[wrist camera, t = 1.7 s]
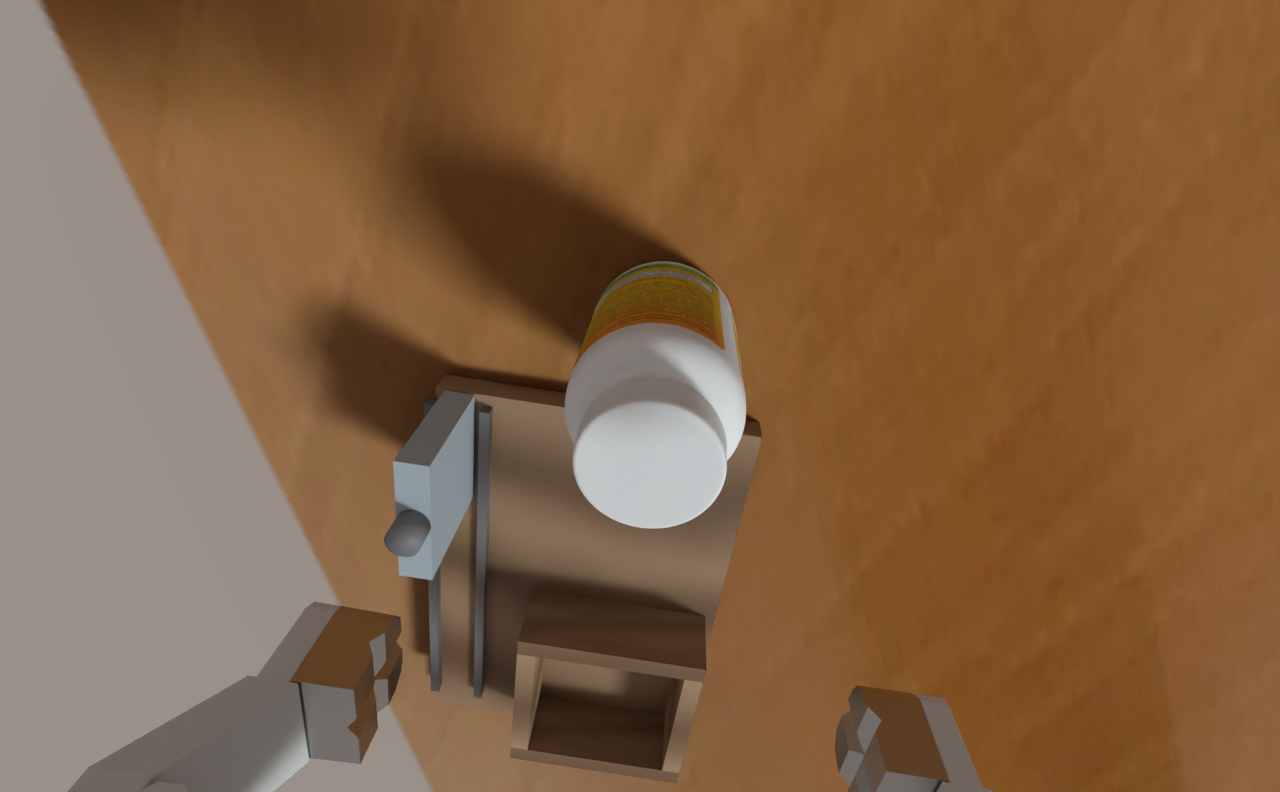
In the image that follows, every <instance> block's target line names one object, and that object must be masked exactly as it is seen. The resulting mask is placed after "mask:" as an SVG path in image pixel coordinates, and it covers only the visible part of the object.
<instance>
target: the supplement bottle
mask: <svg viewBox="0 0 1280 792" xmlns="http://www.w3.org/2000/svg"><path fill="white" fill-rule="evenodd" d="M565 419H566V425H567V429H568V432H569V435H570V437H571V439H572V442H573V444H574V450H573V458H572V463H573V471H574V476H575V479H576V482H577V484H578V486H579V488H580V490H581V491H582V493H583V495H584V496H585V497H586V499H587V500H588V501H589V502H590V503H591V504H592V505H593V506H594V507H595V508H596V509H597V510H599V511H600V512H601V513H603V514H604V515H606V516H608V517H609V518H611V519H613V520H615V521H617V522H620V523H623V524H626V525H629V526H633V527H639V528H667V527H672V526H676V525H679V524H682V523H685V522H687V521H690V520H692V519H694V518H695V517H697V516H698V515H700V514H701V513H703V512H704V511H705V510H706V509H707V508H708V507H710V506H711V504H712V503H713V502H714V501H715V499H716V498H717V497H718V495H719V493H720V492H721V490H722V487H723V485H724V481H725V478H726V472H727V460H728V459H729V458H730V457H731V456H732V454H733V453H734V451H735V450H736V448H737V446H738V444H739V442H740V440H741V437H742V434H743V430H744V426H745V421H746V395H745V388H744V382H743V375H742V369H741V362H740V355H739V348H738V340H737V332H736V327H735V321H734V317H733V313H732V310H731V307H730V304H729V302H728V300H727V298H726V296H725V295H724V293H723V292H722V290H721V289H720V288H719V286H718V285H717V284H716V283H715V282H714V281H713V280H712V279H710V278H709V277H708V276H706V275H705V274H704V273H702V272H700V271H698V270H697V269H695V268H693V267H690V266H687V265H684V264H681V263H676V262H669V261H656V262H650V263H645V264H642V265H639V266H636V267H633V268H631V269H629V270H627V271H626V272H624V273H622V274H621V275H620V276H618V277H617V278H616V279H615V280H614V281H613V282H612V283H611V284H610V285H609V286H608V287H607V289H606V290H605V291H604V293H603V294H602V296H601V297H600V299H599V301H598V304H597V306H596V308H595V311H594V313H593V316H592V319H591V322H590V325H589V328H588V330H587V333H586V336H585V338H584V341H583V344H582V347H581V349H580V352H579V355H578V358H577V360H576V363H575V365H574V368H573V370H572V373H571V376H570V379H569V382H568V386H567V391H566V396H565Z"/></svg>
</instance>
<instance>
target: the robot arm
mask: <svg viewBox="0 0 1280 792" xmlns="http://www.w3.org/2000/svg"><path fill="white" fill-rule="evenodd" d="M400 633H401V621H400V617H398V616H394V615H389V614H383V613H378V612H372V611H367V610H361V609H355V608H350V607H344V606H337V605H331V604H325V603H319V602H313V603H312V604H311V605H309V606H308V607H307V608H305V610H304V611H303V613H302V614H301V616H300V617H299V618H298V620H297V621H296V622H295V624H294V625H293V627H292V628H291V629H290V631H289V632H288V634H287V635H286V636H285V638H284V639H283V641H282V642H281V643H280V645H279V646H278V648H277V649H276V651H275V652H274V653H273V655H272V656H271V657H270V659H269V660H268V662H267V663H266V664H265V666H264V667H263V669H262V670H261V672H260V673H259V674H258V676H257V677H254V676H247V677H245V678H243V679H241V680H240V681H238V682H236V683H235V684H233V685H231V686H229V687H228V688H226V689H224V690H222V691H221V692H219V693H217V694H215V695H214V696H212V697H210V698H208V699H207V700H205V701H203V702H201V703H200V704H198V705H196V706H195V707H193V708H191V709H189V710H188V711H186V712H184V713H182V714H181V715H179V716H177V717H175V718H174V719H172V720H170V721H168V722H167V723H165V724H163V725H162V726H160V727H158V728H156V729H155V730H153V731H151V732H149V733H147V734H146V735H144V736H142V737H141V738H139V739H137V740H135V741H134V742H132V743H130V744H128V745H127V746H125V747H123V748H122V749H120V750H118V751H116V752H114V753H113V754H111V755H109V756H108V757H106V758H104V759H102V760H100V761H99V762H97V763H95V764H94V765H92V766H90V767H89V768H88V769H87V770H86V771H85V772H84V773H83V775H82V776H81V777H80V778H79V779H78V780H77V782H76V783H75V784H74V785H73V786H72V787H71V788H70V790H69V791H68V792H273V791H274V790H275V789H277V788H278V787H279V786H280V785H281V784H282V783H284V782H285V781H286V780H287V779H288V778H290V777H291V776H292V775H293V774H294V773H296V772H297V771H298V770H299V769H300V768H302V766H304V765H305V764H306V763H307V762H309V758H316V759H324V760H332V761H341V762H349V763H357V764H361V762H362V760H363V757H364V755H365V753H366V751H367V749H368V747H369V745H370V743H371V741H372V739H373V737H374V735H375V732H376V730H377V728H378V723H377V712H379V711H380V710H381V709H383V708H384V707H386V706H387V705H389V703H390V701H391V698H392V696H393V694H394V692H395V690H396V686H397V683H398V679H399V676H400V673H401V666H402V648H401V647H400V646H399V645H398V644H397V643H396V641H397V639H398V637H399V635H400ZM849 703H850V707H851V711H849V712H848V713H846V714H844V715H843V716H841V719H840V722H839V725H838V727H837V732H836V742H835V750H836V761H837V766H838V771H839V774H840V775H841V776H842V778H843V779H844V780H845V781H846V782H847V784H848V785H849V786H850V787H849V790H848V792H994V791H993V790H992V789H986V788H983V787H982V784H981V782H980V780H979V777H978V775H977V772H976V770H975V768H974V765H973V763H972V760H971V758H970V755H969V753H968V751H967V748H966V746H965V743H964V741H963V739H962V736H961V734H960V731H959V729H958V727H957V724H956V722H955V719H954V717H953V715H952V712H951V710H950V707H949V705H948V703H947V702H946V701H945V700H944V699H943V698H939V697H932V696H925V695H919V694H911V693H908V692H900V691H893V690H886V689H879V688H872V687H865V686H857V687H855V688H854V689H853V690H852V693H851V695H850V697H849Z"/></svg>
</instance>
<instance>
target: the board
mask: <svg viewBox="0 0 1280 792" xmlns="http://www.w3.org/2000/svg"><path fill="white" fill-rule="evenodd" d="M444 390H445V391H452V392H459V393H465V394H472V395H475V415H474V477H473V498H472V500H471V502H470V504H469V506H468V508H467V510H466V512H465V515H464V517H463V519H462V521H461V523H460V525H459V527H458V529H457V531H456V533H455V535H454V537H453V539H452V541H451V543H450V545H449V547H448V549H447V551H446V553H445V555H444V557H443V559H442V561H441V563H440V565H439V567H438V569H437V571H436V574H435V576H434V578H433V580H428V592H429V630H430V668H431V691H437V692H439V690H440V701H441V702H444V703H450V704H457V705H463V706H470V707H476V708H483V709H490V710H496V711H503V712H509V713H513V723H512V738H511V754H510V758H516V759H522V760H529V761H535V762H542V763H548V764H555V765H561V766H568V767H574V768H581V769H587V770H594V771H600V772H607V773H614V774H620V775H627V776H633V777H640V778H646V779H653V780H659V781H666V782H672V783H676V781H677V777H678V774H679V770H680V766H681V763H682V759H683V755H684V751H685V748H686V744H687V740H688V736H689V733H690V729H691V725H692V722H693V718H694V714H695V710H696V707H697V703H698V699H699V695H700V692H701V688H702V684H703V681H704V677H705V673H706V649H707V645H708V642H709V638H710V634H711V630H712V626H713V622H714V619H715V615H716V611H717V607H718V603H719V600H720V596H721V592H722V588H723V584H724V581H725V577H726V573H727V569H728V565H729V562H730V558H731V554H732V550H733V546H734V543H735V539H736V535H737V531H738V527H739V523H740V520H741V516H742V512H743V508H744V504H745V501H746V497H747V493H748V489H749V485H750V482H751V478H752V474H753V470H754V466H755V463H756V459H757V455H758V451H759V447H760V444H761V440H762V434H761V429H760V423H759V422H754V421H748V420H746V421H745V426H744V430H743V434H742V437H741V440H740V442H739V444H738V446H737V448H736V450H735V451H734V453H733V454H732V456H731V457H730V458H729V459H728V460H727V472H726V478H725V481H724V485H723V487H722V490H721V492H720V493H719V495H718V497H717V498H716V499H715V501H714V502H713V503H712V504H711V506H710V507H708V508H707V509H706V510H705V511H704V512H703V513H701V514H700V515H698V516H697V517H695V518H694V519H692V520H690V521H687V522H685V523H682V524H679V525H676V526H672V527H667V528H639V527H633V526H629V525H626V524H623V523H620V522H617V521H615V520H613V519H611V518H609V517H608V516H606V515H604V514H603V513H601V512H600V511H599V510H597V509H596V508H595V507H594V506H593V505H592V504H591V503H590V502H589V501H588V500H587V499H586V497H585V496H584V495H583V493H582V491H581V490H580V488H579V486H578V484H577V482H576V479H575V476H574V471H573V463H572V458H573V450H574V444H573V442H572V439H571V437H570V435H569V432H568V429H567V425H566V419H565V396H566V393H565V392H558V391H551V390H545V389H538V388H532V387H525V386H519V385H512V384H506V383H499V382H493V381H486V380H480V379H473V378H466V377H460V376H453V375H447V374H445V376H444V377H443V378H442V380H441V381H440V382H439V384H438V385H437V386H436V387H435V396H436V399H434V398H427V400H426V401H425V402H424V418H425V417H426V415H427V414H428V412H429V411H430V410H431V408H432V407H433V406H434V404H435V403H436V401H437V400H438V399H439V397H440V396H441V395H442V393H443V392H444Z"/></svg>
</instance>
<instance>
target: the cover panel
mask: <svg viewBox="0 0 1280 792" xmlns="http://www.w3.org/2000/svg"><path fill="white" fill-rule="evenodd" d="M474 415H475V395H472V394H465V393H459V392H452V391H445V390H444V392H443V393H442V395H441V396H440V397H439V399H438V400H437V401H436V403H435V404H434V406H433V407H432V408H431V410H430V411H429V412H428V414H427V415H426V417H425V418H424V419H423V421H422V422H421V423H420V425H419V426H418V428H417V429H416V430H415V432H414V433H413V434H412V436H411V437H410V439H409V440H408V441H407V443H406V444H405V445H404V447H403V448H402V450H401V451H400V452H399V454H398V455H397V456H396V458H395V459H394V461H393V469H394V487H395V505H396V519H395V521H394V522H393V524H392V525H391V527H390V529H389V530H388V532H387V533H386V535H385V538H384V542H385V545H386V547H387V548H388V549H389V550H390V551H391V552H392V553H394V554H395V555H398V561H399V575H401V576H407V577H414V578H420V579H427V580H433V578H434V576H435V574H436V571H437V569H438V567H439V565H440V563H441V561H442V559H443V557H444V555H445V553H446V551H447V549H448V547H449V545H450V543H451V541H452V539H453V537H454V535H455V533H456V531H457V529H458V527H459V525H460V523H461V521H462V519H463V517H464V515H465V512H466V510H467V508H468V506H469V504H470V502H471V500H472V498H473V477H474Z"/></svg>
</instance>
